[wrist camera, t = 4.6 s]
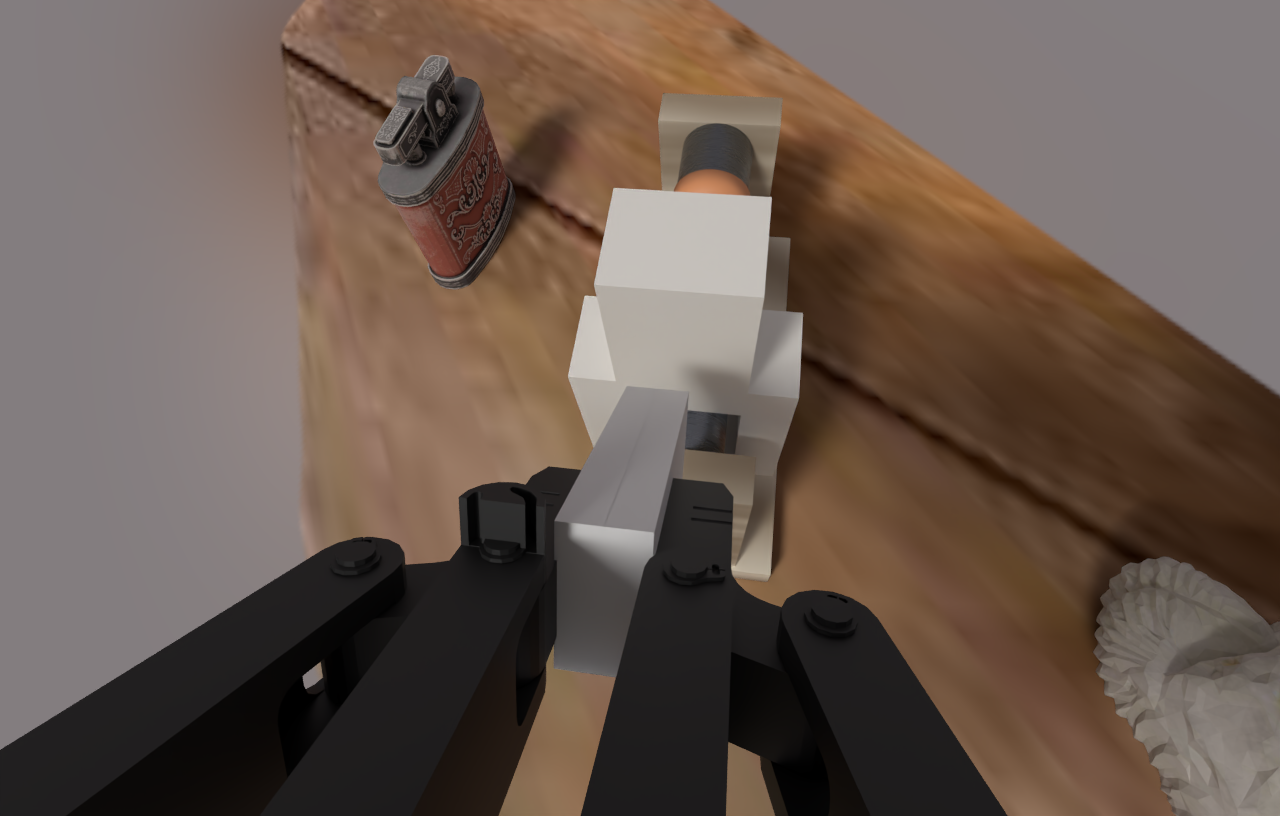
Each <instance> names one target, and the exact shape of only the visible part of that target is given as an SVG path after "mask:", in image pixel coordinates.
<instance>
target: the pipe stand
mask: <svg viewBox="0 0 1280 816" xmlns="http://www.w3.org/2000/svg"><path fill="white" fill-rule="evenodd" d="M782 99H783V98H771V97H746V96H721V95H696V94H671V93H663V97H662V102H661V108H660V114H659V119H658V125H659V142H660V160H661V178H662V191H674V192H691V193H709V194H726V195H743V196H760V197H770V193H771V186H772V180H773V173H774V166H775V160H776V153H777V146H778V139H779V133H780V126H781V112H782ZM789 255H790V238H783V237H769V242H768V255H767V268H766V281H765V294H764V302H763V308H762V310H773V311H786V306H787V289H788V272H789ZM727 417H728V414H721V413H711V412H701V411H691V410H688V412H687V426H686V439H685V452H684V465H683V478H682V479H687V480H696V481H706V482H715V483H723V484H724V485H725V486H726V487H727V489H728V490H729V491H730V493H731V494H732V495H733V497H734V498H733V529H732V560H731V569H732V575H733V577H734V578H740V579H748V580H756V581H764V582H767V581H768V579H769V577H770V575H771V558H772V541H773V524H774V508H775V491H776V474H777V466H776V469H775V472H774V475H773V476H764V475H755V466H756V457H753V456H743V455H734V454H725V453H724V449H725V438H726V428H727Z"/></svg>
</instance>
